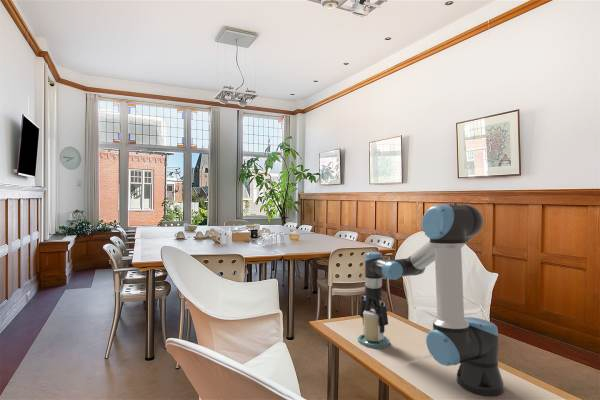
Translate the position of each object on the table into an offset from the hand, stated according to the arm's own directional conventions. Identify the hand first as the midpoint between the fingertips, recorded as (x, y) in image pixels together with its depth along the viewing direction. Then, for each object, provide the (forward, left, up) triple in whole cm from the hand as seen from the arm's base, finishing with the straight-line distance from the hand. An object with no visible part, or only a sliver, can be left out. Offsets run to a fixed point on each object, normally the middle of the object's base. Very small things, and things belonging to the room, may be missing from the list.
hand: (373, 336), depth 165 cm
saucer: (0, 0, -3) cm, 3 cm away
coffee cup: (0, 0, -1) cm, 1 cm away
